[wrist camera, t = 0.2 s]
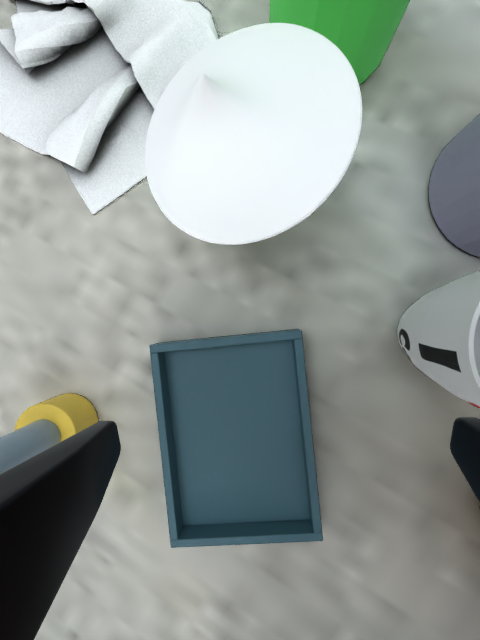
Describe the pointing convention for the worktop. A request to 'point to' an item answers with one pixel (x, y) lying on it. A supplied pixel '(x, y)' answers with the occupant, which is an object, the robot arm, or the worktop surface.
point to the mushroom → (253, 133)
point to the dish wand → (45, 428)
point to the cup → (446, 336)
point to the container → (459, 189)
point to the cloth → (94, 82)
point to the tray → (236, 440)
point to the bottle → (347, 26)
